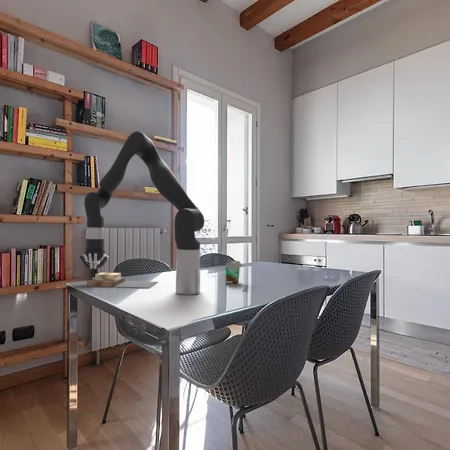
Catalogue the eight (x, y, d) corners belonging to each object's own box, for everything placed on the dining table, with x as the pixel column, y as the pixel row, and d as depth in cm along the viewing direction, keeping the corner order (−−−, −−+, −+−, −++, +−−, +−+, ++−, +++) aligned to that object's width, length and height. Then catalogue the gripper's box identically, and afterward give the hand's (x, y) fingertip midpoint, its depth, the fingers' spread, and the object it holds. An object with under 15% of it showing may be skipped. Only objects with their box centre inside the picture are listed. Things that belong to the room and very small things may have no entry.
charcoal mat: (157, 282, 150) (157, 281, 150) (149, 288, 136) (149, 287, 136) (126, 281, 151) (126, 280, 151) (114, 287, 137) (114, 286, 137)
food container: (238, 286, 146) (239, 263, 146) (225, 285, 147) (225, 263, 147) (242, 281, 158) (243, 260, 158) (230, 280, 160) (230, 260, 160)
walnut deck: (124, 281, 150) (124, 277, 150) (114, 286, 138) (114, 282, 138) (99, 281, 151) (99, 276, 151) (86, 286, 139) (87, 281, 139)
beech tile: (120, 278, 147) (120, 273, 147) (115, 280, 141) (115, 275, 141) (101, 278, 147) (101, 272, 147) (95, 280, 141) (95, 274, 141)
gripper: (113, 237, 148) (112, 276, 148) (84, 237, 148) (83, 275, 148) (106, 238, 140) (105, 279, 140) (76, 237, 141) (75, 278, 141)
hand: (94, 277), depth 144 cm, fingers closed
